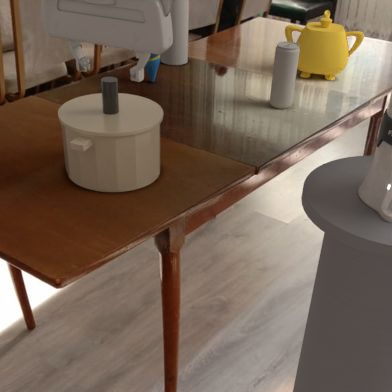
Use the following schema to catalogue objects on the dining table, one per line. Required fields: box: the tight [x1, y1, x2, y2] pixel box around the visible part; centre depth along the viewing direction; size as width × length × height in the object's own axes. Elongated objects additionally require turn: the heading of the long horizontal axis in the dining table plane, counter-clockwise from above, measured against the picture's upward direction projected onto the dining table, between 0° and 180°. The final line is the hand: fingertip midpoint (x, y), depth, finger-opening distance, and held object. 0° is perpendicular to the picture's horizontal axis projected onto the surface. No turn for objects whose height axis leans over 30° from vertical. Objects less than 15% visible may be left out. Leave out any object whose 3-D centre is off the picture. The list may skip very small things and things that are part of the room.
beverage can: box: [269, 40, 300, 110], centre depth 128 cm, size 5×5×12 cm
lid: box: [57, 76, 164, 137], centre depth 99 cm, size 17×17×6 cm
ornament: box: [144, 53, 161, 83], centre depth 135 cm, size 5×5×15 cm
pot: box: [60, 122, 162, 193], centre depth 104 cm, size 16×21×9 cm
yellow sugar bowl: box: [284, 9, 365, 81], centre depth 145 cm, size 14×14×12 cm
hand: (110, 75), depth 97 cm, fingers open, 8 cm apart
